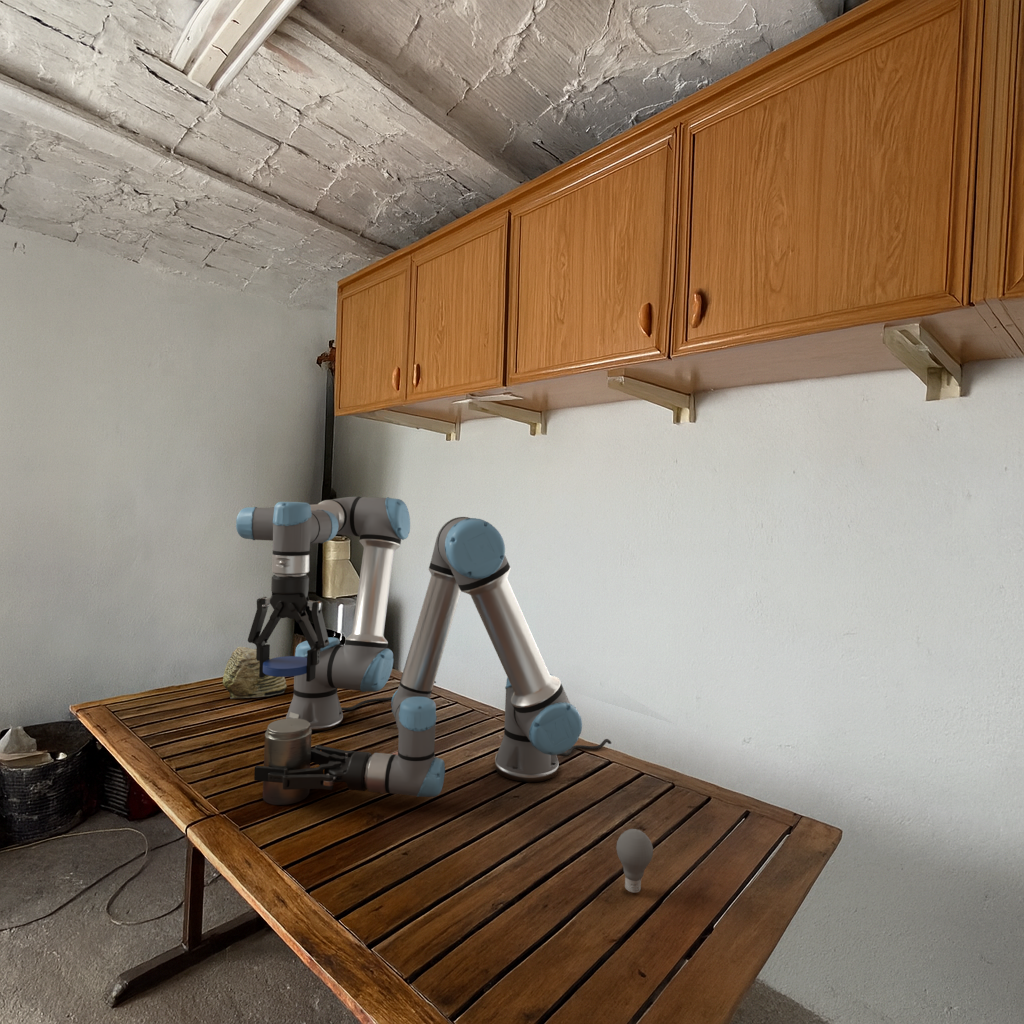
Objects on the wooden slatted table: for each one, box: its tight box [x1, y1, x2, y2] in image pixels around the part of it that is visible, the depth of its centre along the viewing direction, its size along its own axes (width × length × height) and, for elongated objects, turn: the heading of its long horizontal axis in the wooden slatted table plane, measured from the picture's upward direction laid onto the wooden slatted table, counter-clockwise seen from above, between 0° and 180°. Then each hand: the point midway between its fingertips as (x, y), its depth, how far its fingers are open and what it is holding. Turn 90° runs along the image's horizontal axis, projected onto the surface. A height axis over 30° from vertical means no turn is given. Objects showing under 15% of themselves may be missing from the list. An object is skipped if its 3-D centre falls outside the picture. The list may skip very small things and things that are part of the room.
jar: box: [262, 718, 313, 806], centre depth 134 cm, size 9×9×15 cm
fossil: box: [222, 646, 288, 699], centre depth 198 cm, size 9×18×15 cm, turn 132°
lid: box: [263, 655, 307, 678], centre depth 136 cm, size 10×10×2 cm
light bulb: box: [615, 828, 654, 894], centre depth 106 cm, size 6×6×10 cm
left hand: (287, 677), depth 136 cm, fingers closed on lid, 10 cm apart
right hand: (267, 762), depth 134 cm, fingers closed on jar, 9 cm apart
